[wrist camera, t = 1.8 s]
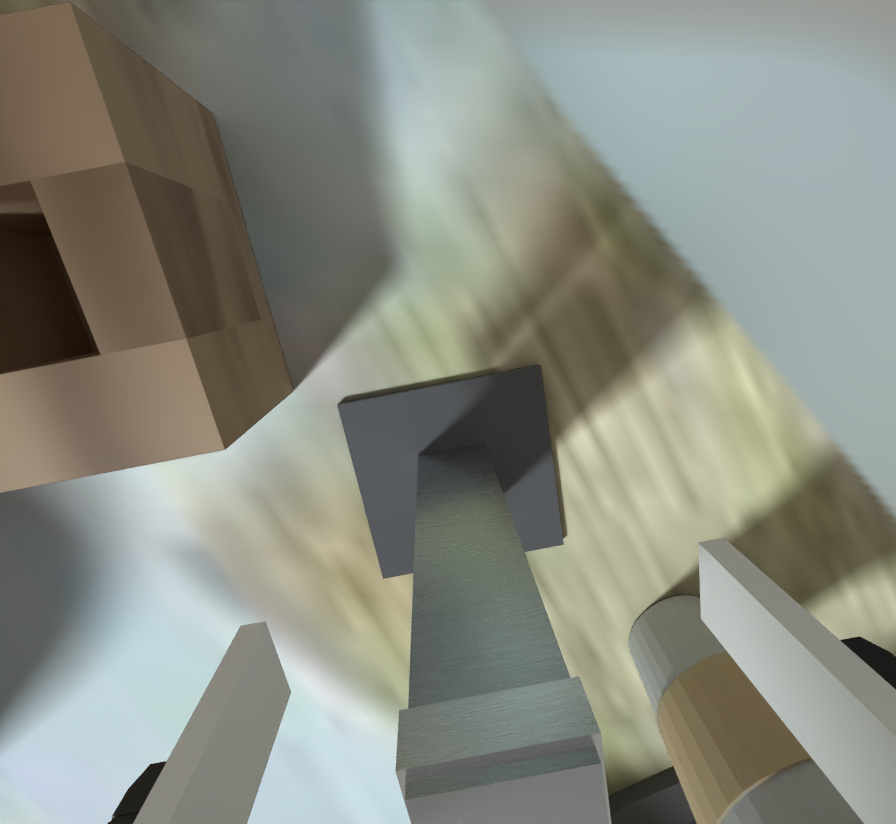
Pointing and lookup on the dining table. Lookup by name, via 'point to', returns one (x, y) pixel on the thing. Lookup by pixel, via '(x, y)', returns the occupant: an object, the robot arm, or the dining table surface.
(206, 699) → the robot arm
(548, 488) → the mat
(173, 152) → the socket block
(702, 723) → the coffee cup
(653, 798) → the lantern
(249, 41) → the dining table surface
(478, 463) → the plug
